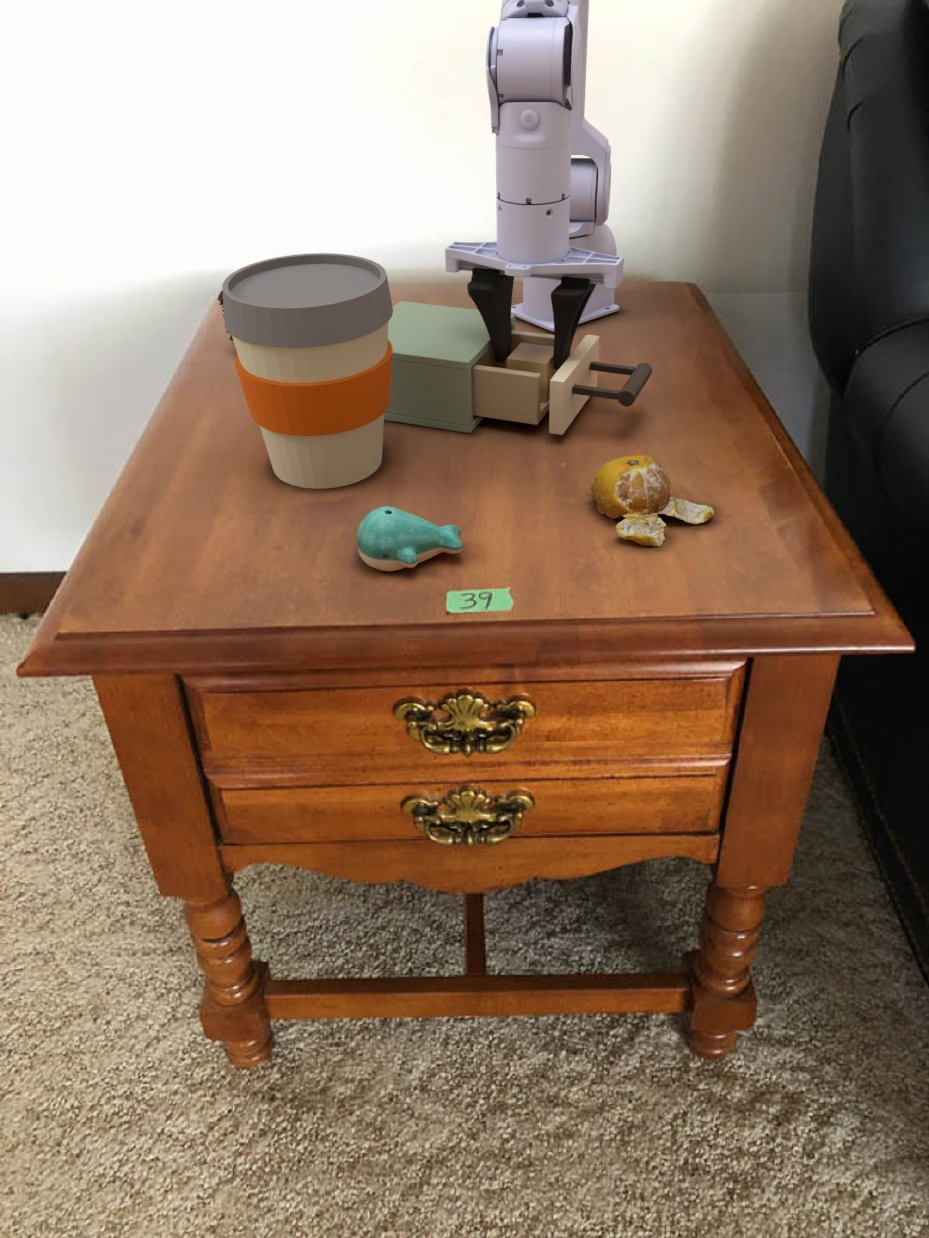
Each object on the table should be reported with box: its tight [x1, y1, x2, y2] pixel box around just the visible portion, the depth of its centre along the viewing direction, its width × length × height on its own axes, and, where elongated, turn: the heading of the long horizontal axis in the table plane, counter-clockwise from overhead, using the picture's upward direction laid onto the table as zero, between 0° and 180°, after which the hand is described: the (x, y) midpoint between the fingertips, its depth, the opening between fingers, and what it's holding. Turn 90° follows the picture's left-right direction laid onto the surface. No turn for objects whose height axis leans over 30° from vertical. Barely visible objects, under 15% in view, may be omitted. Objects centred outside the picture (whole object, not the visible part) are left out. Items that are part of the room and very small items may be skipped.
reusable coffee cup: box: [221, 252, 394, 490], centre depth 80 cm, size 13×13×15 cm
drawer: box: [471, 329, 653, 436], centre depth 88 cm, size 16×10×5 cm, turn 68°
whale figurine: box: [356, 505, 464, 572], centre depth 71 cm, size 6×7×4 cm
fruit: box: [590, 454, 715, 547], centre depth 75 cm, size 8×8×4 cm
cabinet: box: [384, 300, 517, 434], centre depth 92 cm, size 11×11×6 cm
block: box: [507, 343, 558, 403], centre depth 88 cm, size 4×4×4 cm
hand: (531, 361), depth 88 cm, fingers open, 5 cm apart
